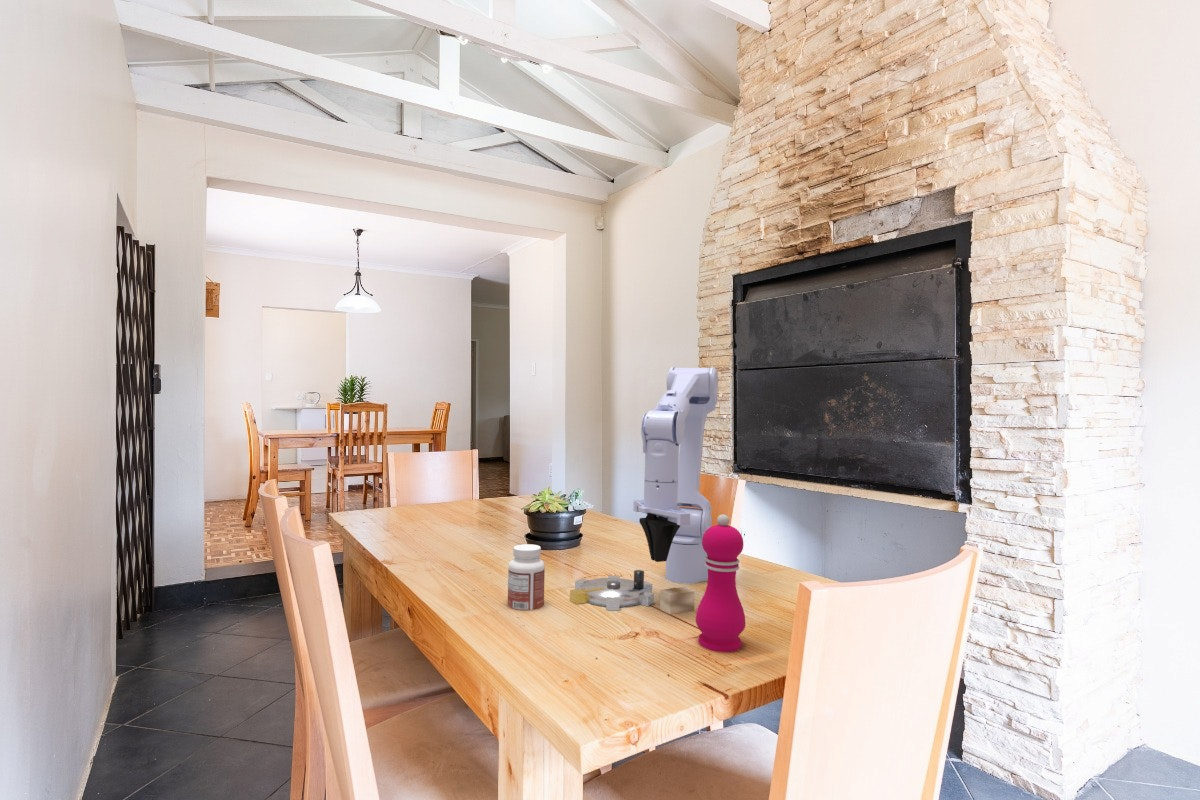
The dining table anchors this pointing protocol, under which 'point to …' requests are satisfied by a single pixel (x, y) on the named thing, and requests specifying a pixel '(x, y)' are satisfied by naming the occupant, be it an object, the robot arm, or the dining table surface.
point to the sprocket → (613, 592)
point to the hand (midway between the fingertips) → (658, 560)
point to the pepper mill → (721, 589)
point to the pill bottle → (526, 578)
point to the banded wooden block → (677, 600)
